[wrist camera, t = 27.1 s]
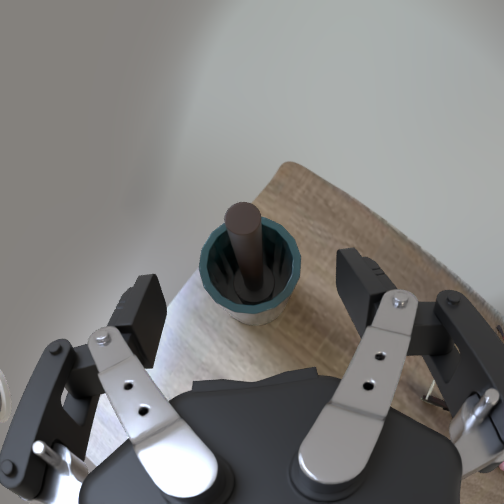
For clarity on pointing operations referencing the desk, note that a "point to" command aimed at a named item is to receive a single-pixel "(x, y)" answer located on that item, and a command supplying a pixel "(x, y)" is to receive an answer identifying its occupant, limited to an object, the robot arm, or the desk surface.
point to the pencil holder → (225, 266)
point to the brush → (249, 254)
